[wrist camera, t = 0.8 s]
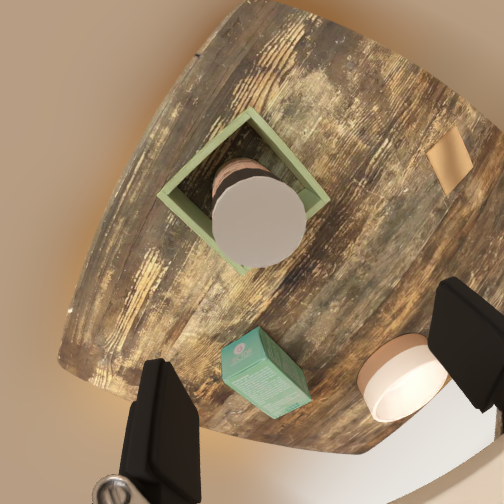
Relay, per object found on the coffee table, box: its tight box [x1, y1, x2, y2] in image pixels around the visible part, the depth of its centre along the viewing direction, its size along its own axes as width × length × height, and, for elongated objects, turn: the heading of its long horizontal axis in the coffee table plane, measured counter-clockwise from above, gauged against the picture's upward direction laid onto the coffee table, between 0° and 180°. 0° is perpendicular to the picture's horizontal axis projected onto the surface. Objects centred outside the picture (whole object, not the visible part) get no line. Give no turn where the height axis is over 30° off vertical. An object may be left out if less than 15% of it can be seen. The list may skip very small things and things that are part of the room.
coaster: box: [426, 125, 473, 196], centre depth 36 cm, size 8×8×1 cm
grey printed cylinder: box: [212, 157, 306, 268], centre depth 28 cm, size 7×7×15 cm
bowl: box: [357, 333, 448, 422], centre depth 48 cm, size 17×17×8 cm
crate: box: [157, 106, 331, 276], centre depth 32 cm, size 13×13×6 cm
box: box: [221, 326, 312, 419], centre depth 42 cm, size 7×14×8 cm, turn 36°
